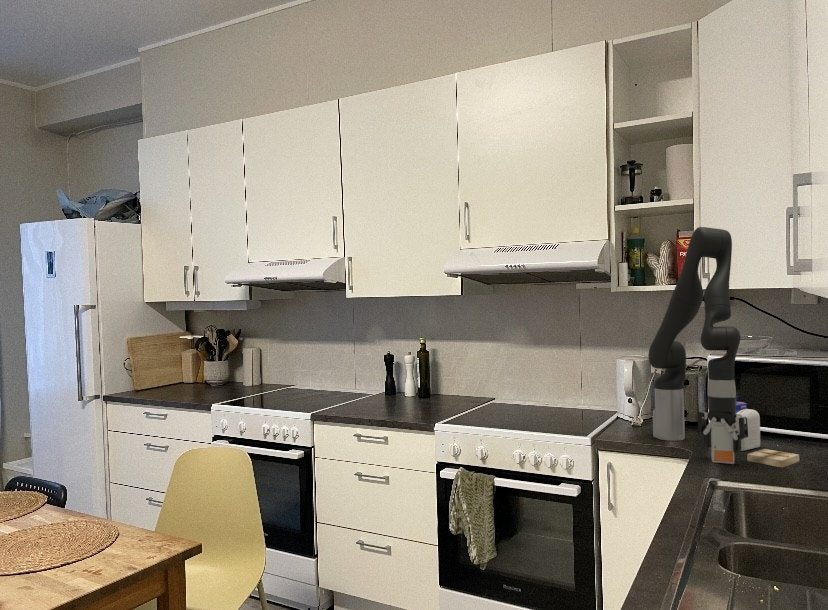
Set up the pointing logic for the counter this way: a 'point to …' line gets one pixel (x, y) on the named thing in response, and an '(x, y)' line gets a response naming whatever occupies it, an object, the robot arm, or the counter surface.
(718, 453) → the skincare box
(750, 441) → the white rounded block
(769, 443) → the counter surface
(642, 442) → the counter surface
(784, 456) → the trivet
